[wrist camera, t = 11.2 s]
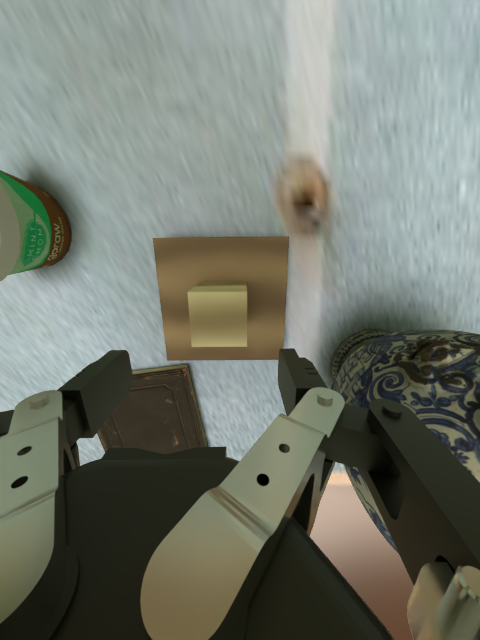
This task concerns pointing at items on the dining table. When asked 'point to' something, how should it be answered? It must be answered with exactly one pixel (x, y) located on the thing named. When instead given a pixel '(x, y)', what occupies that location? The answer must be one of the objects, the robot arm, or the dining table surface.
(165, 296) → the block
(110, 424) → the hardcover book
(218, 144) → the dining table surface
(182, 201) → the dining table surface
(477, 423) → the decorative vase
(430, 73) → the dining table surface
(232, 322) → the maple block
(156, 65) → the dining table surface
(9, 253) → the half round tub
